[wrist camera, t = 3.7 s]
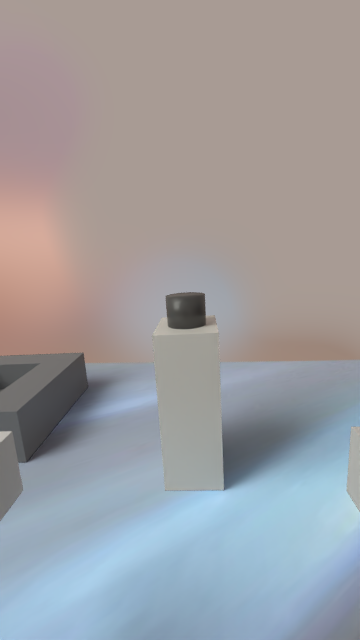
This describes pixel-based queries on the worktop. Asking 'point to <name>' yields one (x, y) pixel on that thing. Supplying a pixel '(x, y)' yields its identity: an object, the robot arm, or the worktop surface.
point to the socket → (38, 395)
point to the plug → (189, 395)
